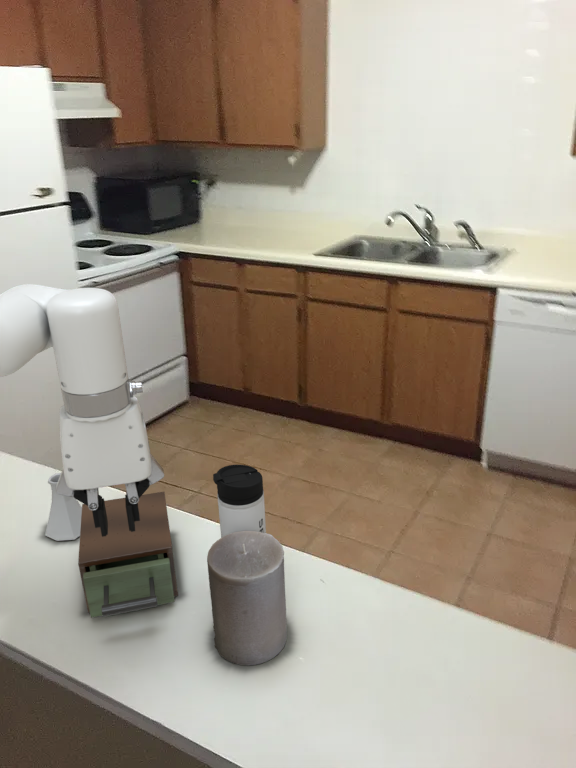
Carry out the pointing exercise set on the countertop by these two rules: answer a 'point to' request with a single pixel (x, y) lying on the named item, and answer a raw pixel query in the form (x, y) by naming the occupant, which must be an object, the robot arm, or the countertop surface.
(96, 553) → the cabinet
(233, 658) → the pillar candle
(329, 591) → the countertop surface
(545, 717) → the countertop surface
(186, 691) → the countertop surface
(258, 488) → the travel mug
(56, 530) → the flask
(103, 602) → the bin drawer
